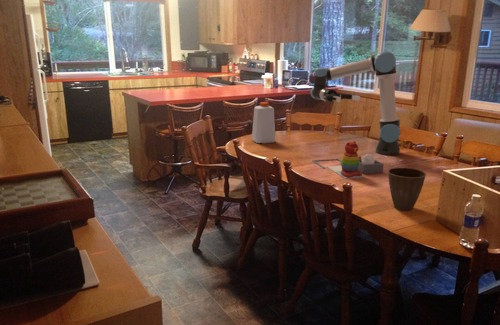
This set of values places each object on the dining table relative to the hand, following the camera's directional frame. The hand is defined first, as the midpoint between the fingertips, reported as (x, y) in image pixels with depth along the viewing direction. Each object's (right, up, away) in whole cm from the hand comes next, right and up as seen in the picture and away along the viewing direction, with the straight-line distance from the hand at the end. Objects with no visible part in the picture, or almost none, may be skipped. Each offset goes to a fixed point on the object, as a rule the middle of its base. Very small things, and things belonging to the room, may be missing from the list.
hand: (350, 99), depth 242 cm
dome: (+9, -39, -4) cm, 40 cm away
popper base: (+9, -40, -3) cm, 42 cm away
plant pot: (+9, -56, -58) cm, 81 cm away
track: (-6, -39, 0) cm, 40 cm away
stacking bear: (-3, -43, -12) cm, 44 cm away
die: (+5, -37, +9) cm, 38 cm away
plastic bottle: (-47, -21, +66) cm, 84 cm away
